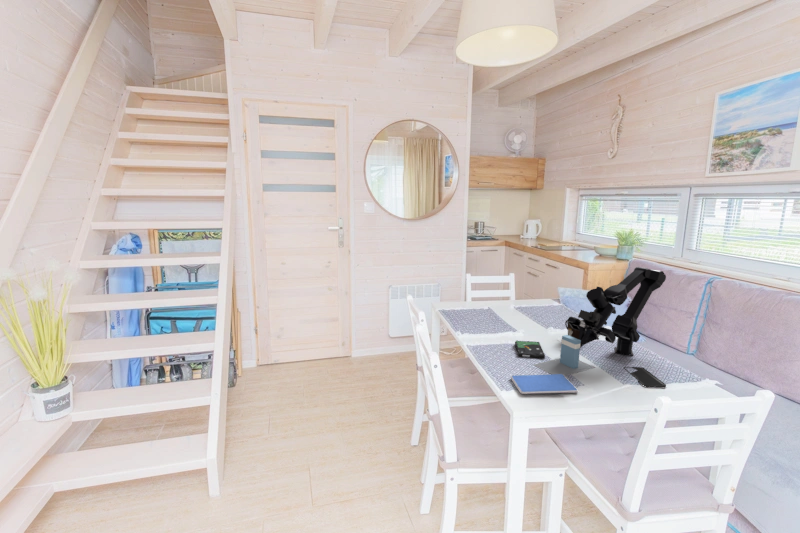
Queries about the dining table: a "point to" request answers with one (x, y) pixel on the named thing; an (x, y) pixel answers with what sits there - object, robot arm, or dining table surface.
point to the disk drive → (529, 349)
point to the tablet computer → (543, 384)
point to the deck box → (570, 351)
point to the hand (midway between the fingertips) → (578, 345)
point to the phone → (646, 377)
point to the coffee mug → (573, 330)
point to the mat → (562, 367)
